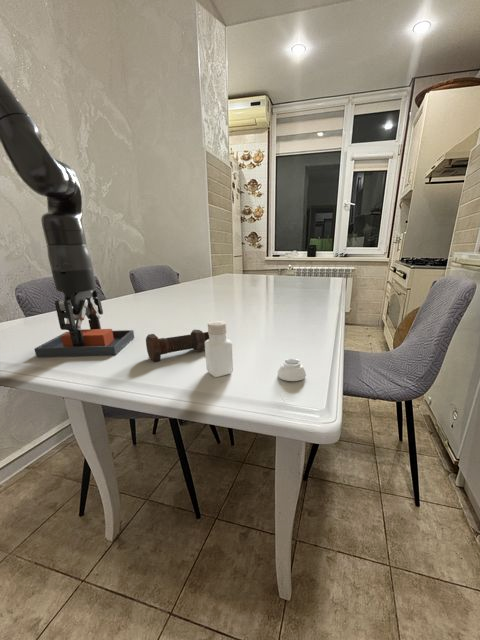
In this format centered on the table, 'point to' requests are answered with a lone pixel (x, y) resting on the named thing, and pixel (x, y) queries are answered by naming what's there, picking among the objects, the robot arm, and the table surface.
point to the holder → (57, 350)
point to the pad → (91, 337)
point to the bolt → (175, 344)
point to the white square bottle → (218, 350)
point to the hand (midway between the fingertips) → (88, 340)
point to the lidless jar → (291, 370)
